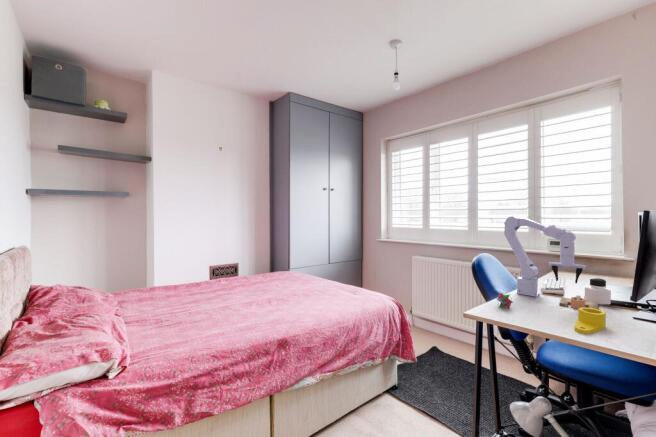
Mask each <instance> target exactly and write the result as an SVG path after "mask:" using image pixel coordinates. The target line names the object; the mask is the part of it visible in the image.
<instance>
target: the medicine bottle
mask: <svg viewBox="0 0 656 437" xmlns="http://www.w3.org/2000/svg"><path fill="white" fill-rule="evenodd" d="M611 298H612V291H611V289H608V288H607V281H606V280H605V279H603V278H600V277H591V278H590V279H589V286H585V287H584V299H585V301H589V302H596V303H597V304H598V305H611V303H612V302H611V300H612V299H611Z"/></svg>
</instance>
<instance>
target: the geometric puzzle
mask: <svg viewBox="0 0 656 437" xmlns="http://www.w3.org/2000/svg"><path fill="white" fill-rule="evenodd" d="M510 297H511V294H504V293H502V292H499V293H498V295H497V298H496V302H497V301H498V302H497V303H498V304H499V305H498V307H500V308H502V307H505V308H507V309H510V308H511V306H512V304H513V303H514V301H513V300H512V298H511V299H509V298H510ZM499 302H500V303H499Z"/></svg>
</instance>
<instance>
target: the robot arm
mask: <svg viewBox="0 0 656 437" xmlns="http://www.w3.org/2000/svg"><path fill="white" fill-rule="evenodd" d="M503 223H504V232H503V234H504V236H505V238H506V241H507V242H508V244H509V245H510V247H511V249H512V251H513V253H514V255H515V258H516V259H517V261H518V263H519V269H520V274H521V276H518V277H517V280H516V295H525V296H531V297H535V298H537V297H539V295H540V292H538V290H539V289H538V286H539V284H538V283H539V281H538V280H539V278H538V276H537V275H538V274H539V273H540V270H539V268H538V267H537V266H536V265H535V264H534V262H533V261H532V260H530V258H529V256H528V254H527V252H526V250H525V249H524V247H523V245H522V243H521V241H520V240H519V238H518V235H517V231H518V230H519V228H521V227H529V228H532V229H535V230H537V231H541V232H543V234H544V235H545V236H547V237H550V238H552V239H555V240H557V241H558V240H559V241H560V248H559V262H554V261H553V262H552V261H549V262H548V266H549V267H551V269H552V271H553V274H554V276H555V277H554V278H555V281H557V282H559V268H567V269H568V268H569V269H575V282H574V283H575V284H578V280H579V277H580V275H581V274H582V272H583V270H585V271H586V264H578V263H575V240H576V236H577V235H576V234H575V233H574V232H572V231H570V230H569V231H567V229H565V228H563V229H562V228H560V227H557V226H556V225H554V224H552V225H550V224H549V225H544V224H542V223H539V222H537V221H535V220H531V219H529V218H526V217H522V216H519V215H515V216H513V215H511V216H508V217H507V218H506V220H505V221H504V222H503Z"/></svg>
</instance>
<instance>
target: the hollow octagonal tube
mask: <svg viewBox="0 0 656 437" xmlns="http://www.w3.org/2000/svg"><path fill="white" fill-rule="evenodd" d="M570 299H571V305H570V307H571V308H574V309H578V310H579V308H582V307H585V301H586V300H585V298H583V297H581V300H576V296H571V297H570ZM585 308H586V307H585Z"/></svg>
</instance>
